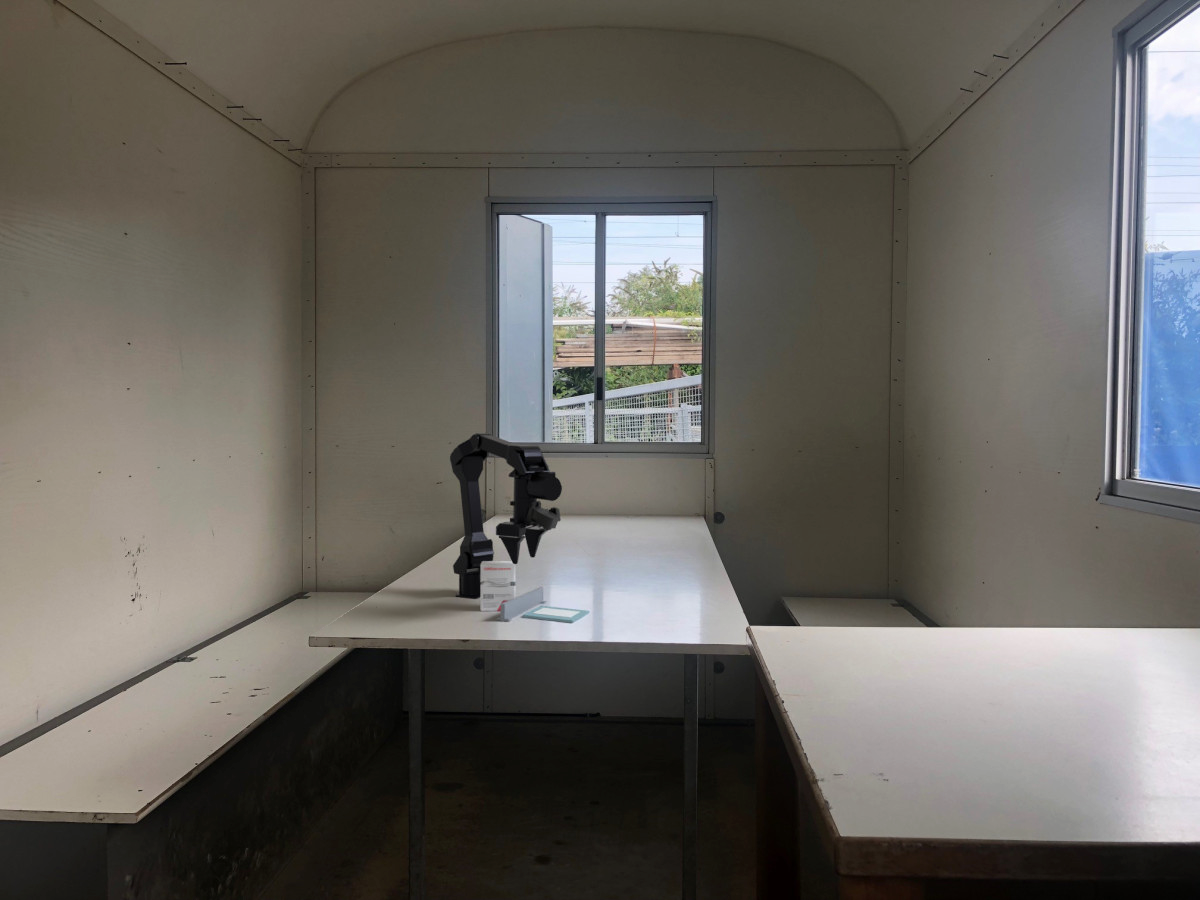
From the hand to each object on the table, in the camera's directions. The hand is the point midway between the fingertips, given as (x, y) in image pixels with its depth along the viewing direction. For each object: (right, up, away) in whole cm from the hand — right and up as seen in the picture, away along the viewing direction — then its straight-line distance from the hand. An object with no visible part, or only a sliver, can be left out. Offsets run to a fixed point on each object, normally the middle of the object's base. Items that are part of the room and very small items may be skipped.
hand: (524, 560), depth 183 cm
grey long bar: (0, -13, 0) cm, 13 cm away
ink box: (-7, -13, +3) cm, 15 cm away
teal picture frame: (+8, -13, -3) cm, 15 cm away
